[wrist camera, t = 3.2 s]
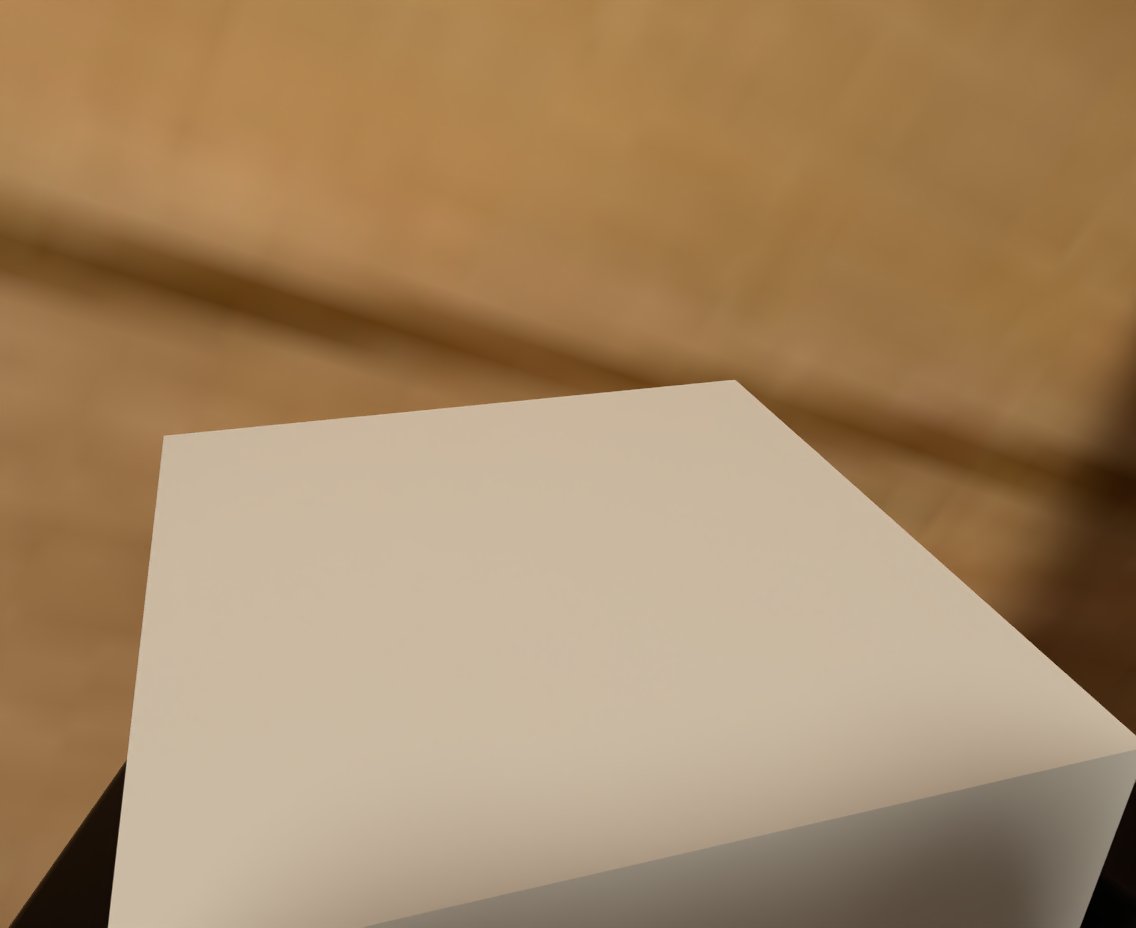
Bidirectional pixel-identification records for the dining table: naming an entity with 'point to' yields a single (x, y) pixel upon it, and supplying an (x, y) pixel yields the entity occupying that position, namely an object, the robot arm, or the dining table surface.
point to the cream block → (585, 688)
